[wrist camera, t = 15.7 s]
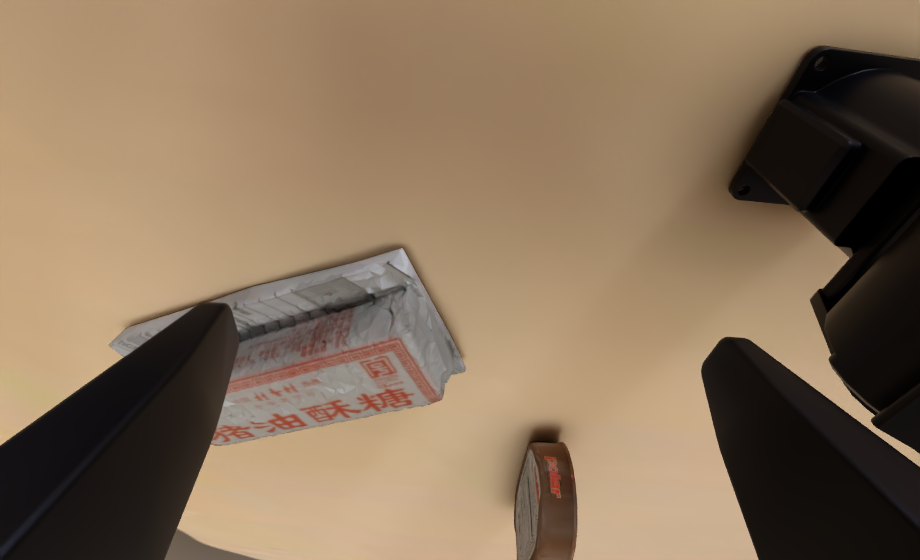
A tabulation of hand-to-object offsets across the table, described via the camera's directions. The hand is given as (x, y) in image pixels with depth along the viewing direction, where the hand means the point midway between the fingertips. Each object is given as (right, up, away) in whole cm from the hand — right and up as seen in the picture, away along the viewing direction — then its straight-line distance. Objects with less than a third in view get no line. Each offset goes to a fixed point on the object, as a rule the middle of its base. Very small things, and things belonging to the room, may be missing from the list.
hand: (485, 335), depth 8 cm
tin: (+6, -15, +31) cm, 35 cm away
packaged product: (-10, -3, +20) cm, 22 cm away
